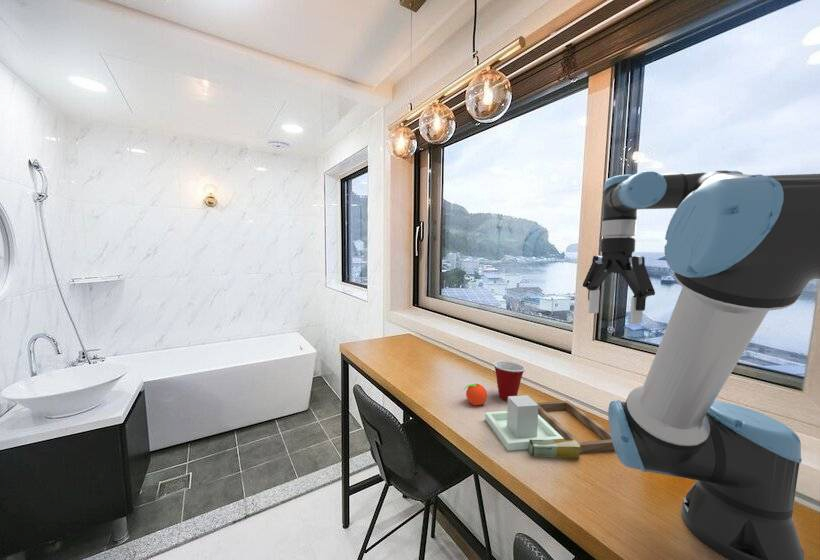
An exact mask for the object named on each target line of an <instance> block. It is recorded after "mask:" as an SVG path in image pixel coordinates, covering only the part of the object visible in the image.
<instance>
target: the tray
mask: <svg viewBox="0 0 820 560" xmlns="http://www.w3.org/2000/svg"><path fill="white" fill-rule="evenodd" d="M484 414H485V416H484V417H485V418H484V420H485V422H486V424H488V426H489V428H490V429H491V430H492V431H493V433H495V435H496V437H497V438H498V440H499V441H500V442H501V443H502V445H503V446H504V448H505V449H506V450H507V451H508V452H512V451H513V452H514V451H515V452H516V451H529V440H564V438H563V437H562V436H561V435H560V434H559V433H558V432H557V431H555V430H554V429H553V428H552V427H551V426H550V425H549V424H548V423H547V422H546V421H545V420H544V419H543V418H542V417H541V416H540V415H539V414H538V427H537V437H526V438H516V437H515V436H514V435H513V433H512V432H511V431H510V430H509V428H508V427H507V410H502V411H501V410H500V411H485V413H484Z"/></svg>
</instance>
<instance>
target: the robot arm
mask: <svg viewBox="0 0 820 560" xmlns="http://www.w3.org/2000/svg"><path fill="white" fill-rule="evenodd" d="M602 194H603V200H602V201H603V202H602V204H603V205H602V221H601V231H600V232H601V234H600V236H601V237H602V238H601V240H600V252H601V253H602V255H593V256H592V261H591V264H590V267H589V269H588V272H587V274H586V277H585V279H584V280H583V282H582V287H583V288H586V289H587V290H588V291H587V300H588V311H587V312H588V314H599V310H600V309H599V308H600V292H601V290H600V286H601V285H602V284H603V283H604V282H605V280H606V279H607V277H608V276H609V275H610V274H620V276H622V277H623V279H624V281H625V282H626V283H627V285H628V287H629V289H630V290H631V292H632V293H633V295H632V296H631V298H630V299H631V301H630V314H629V315H630V316H629V324H631V325H632V324H633V325H635V324H636V325H638V324H642V323H643V311H645V309H646V301H647V298H648V297H650V296H655V295H656V291H655V288H654V285H653V284H652V280H651V278H650V276H649V273H648V270H647V267H646V264H645V263H646V262H645V259H646V258H645V256H644V255H643V256H642V255H641V256H640V255H635V256H633V253H634V252H635V251H636V250H635V249H636V238H633V237H635V236H636V234H637V220H638V210H663V209H664V210H665V209H675V211H674V213H673V215H671V218H670V220H669V224H668V226H667V229H666V231H665V232H666V233H665V238H664V240H666V244H665V245H664V257H665V258H664V259H665V261H666V263H667V265H668V267H669V268H670V269H671V270H672V271H673V276H674V279H675V280H676V282H677V283H678V284H679V285H680V286H681V287H682V288H681V290H680V292H679V295H678V298H677V300H676V302H675V306H674V308H673V310H672V313H671V316H670V318H669V321H668V322H667V325H666V328H665V330H664V333H663V336H662V337H661V340H660V343H659V345H658V348H657V350H656V353H655V355H654V358H653V360H652V363H651V365H650V367H649V370H648V373H647V375H646V378H645V380H644V383H643V385H642V386H639V387H636V388H634V389H632V390H631V391H630V392H629V394H628V396H627V397H626V400H625V401H621V400H620V399H619V400H611V401H610V402H609V404H608V412H607V413H608V416H607V417H608V426H609V432H610V433H611V438H612V443H613V446H614V450H615V451H614V452H615V455H616V457H617V458H618V460H619V462H620V463H621V464H622V465H623V466H625V467H627V468H629V469H634V470H637V471H641V472H642V473H652V474H659V475H664V476H671V477H677V478H683V479H689V480H695V482H694V483H693V485H692V486H691V488H690V489H689V491H688V492H687V493H686V495H685V496H684V498H683V500H682V503H681V504H682V506H681V518H682V521H683V522H684V524H685V526H686V527H687V529H688V530H689V531H690V532H691V533H692V534H693V535H694V537H696V538H697V539H698V540H699V541H700V542H702V543H703V544H704V545H706V547H708V548H709V549H711V550H712V551H714V552H715V553H717V554H718V555H720V556H721V557H723V558H724V559H727V560H805V553H804V550H803V548H802V544H801V542H800V538H799V535H798V532H797V528H796V526H795V522H794V520H793V515H794V513H793V512H794V506H795V500H796V492H797V486H798V485H797V484H798V477H799V470H800V464H801V463H802V460H803V458H802V443H801V439H800V437H799V436H798V434H797V433H796V432H795V431H794V430H792V428H790V427H789V426H787V425H785V424H784V423H783V422H780V421H779V420H777V419H774V418H772V416H771V417H770V416H768V415H766V414H764V413H761V412H759V411H756V410H753V409H751V408H748V407H745V406H741V405H738V404H734V403H730V402H725V401H720V400H716V399H717V397H718V396H719V394H720V392H721V391H722V389H723V387H724V385H725V384H726V382H727V381H728V379H729V377H730V376H731V374H732V372H733V371H734V369H735V367H736V366H737V364H738V362H739V361H740V359H741V357H742V356H743V354H744V352H745V351H746V349H747V347H748V346H749V344H750V342H751V341H752V340H753V337H754V336H755V333H757V331H758V330H759V327H760V326H761V324H762V322H764V319H765V318H766V316H767V314H768V312H769V311H774V310H775V311H776V310H783V309H787V308H789V307H790V306H793V305H794V304H795V303H796V302H797V300H798V299H799V297H800V296H801V294H802V293H803V291H804V290H805V288H806V287H807V285H808V284H809V282H811V281H813V280H820V173H806V174H805V173H804V174H801V173H800V174H778V175H777V174H774V175H772V174H770V175H763V174H746V173H744V174H743V172H741V171H739V170H716V171H701V172H689V173H688V172H685V173H683V172H682V173H678V172H676V173H663V174H662V173H661V174H660V173H658V172H656V171H652V170H645V171H641V172H637V173H635V174H619V175H614V176H612V177H609V178H607V179H606V180H605V183H604V189H603V192H602Z"/></svg>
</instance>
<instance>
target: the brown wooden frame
mask: <svg viewBox="0 0 820 560" xmlns="http://www.w3.org/2000/svg"><path fill="white" fill-rule="evenodd" d="M536 403H537V404H538V405H539V406H538V414H539V415H540V416H541V417H542V418H543V419H544V420H545V421H546V422H547V423H548V424H549V425H550V426H551V427H552V428H553V429H554V430H555V431H557V432H558V433H559V434H560V435H561V436H562V437H563V438H564V440H576V441H577V442H578V443H579V445H580V447H581V448H580V454H582V453H583V454H584V453H585V454H586V453H597V452H598V453H599V452H613V451H614V452H615V450H614V446H613V443H612V438H611V433H610V430H608V429H606V428H605V427H604V426H602V425H601V424H600V423H598V422H597V421H596V420H594V419H593V418H592V417H590V416H589V415H587V413H585V412H584V411H582V410H581V409H580V408H578V407H577V406H576V405H574V404H573V403H572V402H570V401H569V400H555V401H543V402H542V401H541V402H536ZM556 411H558V412H559V411H567V412H568V413H569V414H571V415H572V416H573V417H574V418H576V419H577V420H578V421H580V422H581V423H582V424H583V425H585V426H586V427H587V428H588V429H589V430H590V431H592V432H593V433H595V434H596V435H598V437H600V438H601V440H600V439H599V440H589V441H580V440H579V439H578V438H576V437H575V436H574V435H573V433H571V432H570V431H568V430H567V429H566V428H565V427H564V426H563V425H562V424H561V423H559V422H558V421H557V420H556V419H555V418H554V417H553V416H552V415H551V414H550V413H548V412H556Z"/></svg>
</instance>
